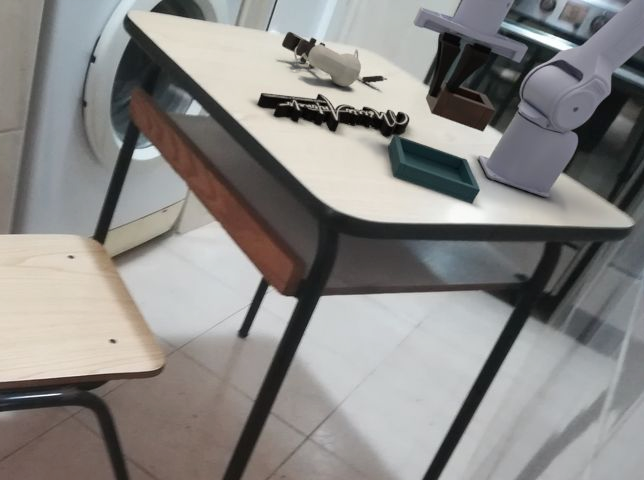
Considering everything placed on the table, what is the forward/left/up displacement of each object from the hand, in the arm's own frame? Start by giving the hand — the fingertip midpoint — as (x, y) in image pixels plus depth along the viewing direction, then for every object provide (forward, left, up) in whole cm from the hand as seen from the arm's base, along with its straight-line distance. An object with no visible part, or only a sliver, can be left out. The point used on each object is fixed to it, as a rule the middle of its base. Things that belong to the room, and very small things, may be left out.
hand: (437, 96), depth 92 cm
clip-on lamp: (+12, -26, -9) cm, 30 cm away
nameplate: (+10, -5, -9) cm, 14 cm away
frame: (-3, 0, -1) cm, 3 cm away
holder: (-2, +6, -8) cm, 10 cm away
